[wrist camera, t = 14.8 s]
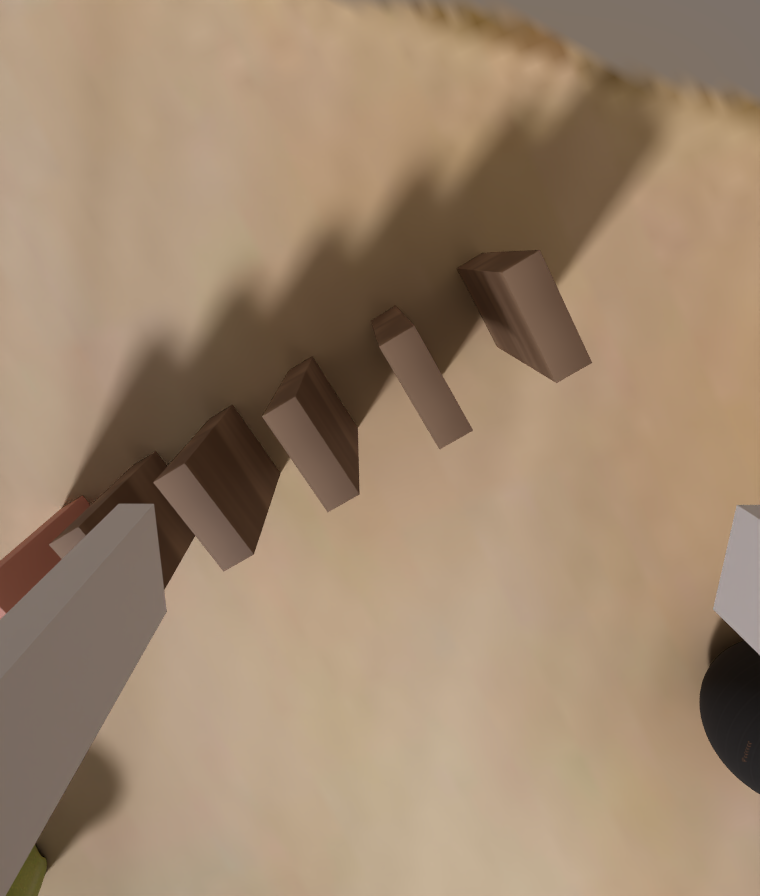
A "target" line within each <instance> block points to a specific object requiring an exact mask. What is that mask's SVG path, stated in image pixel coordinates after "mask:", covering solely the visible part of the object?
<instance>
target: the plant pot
mask: <svg viewBox="0 0 760 896" xmlns="http://www.w3.org/2000/svg"><path fill="white" fill-rule="evenodd" d="M46 869H47V862H46V858H45V857H42V856H41V855H40V854H39V852H38V850H37V848H36V845H34V847H33V848H32V850H31V852H30V854H29V855H28V857H27V859H26V861H25V862H24V864H23V866H22V868H21V870H20V871H19V873H18V875H17V877H16V878H15V880H14V882H13V884H12V885H11V887H10V889H9V891H8V892H7V894H6V896H38V893H39V890H40V888H41V885H42V882H43V879H44V876H45V873H46Z"/></svg>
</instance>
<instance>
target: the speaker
mask: <svg viewBox="0 0 760 896" xmlns="http://www.w3.org/2000/svg"><path fill="white" fill-rule="evenodd" d="M700 713H701V719H702V723H703V726H704V729H705V732H706V735H707V737H708V739H709V741H710V743H711V745H712V747H713V749H714V750H715V752H716V753H717V755H718V756H719V758H720V759H721V760H722V762H723V763H724V764H725V765H726V767H727V768H728V769H729V770H730V771H731V772H732V773H733V774H734V775H735V776H736V777H737V778H738V779H739V780H741V781H742V782H743V783H744V784H746V785H747V786H748V787H750V788H751V789H752V790H754V791H755V792H757V793H759V794H760V655H759V654H758V653H757V652H756V651H755V650H754V649H753V648H752V647H751V646H750V645H749V644H748V643H747V642H746V641H742V642H740V643H737V644H735V645H733V646H731V647H730V648H728V649H727V650H725V651H724V652H723V653H721V654H720V655H719V656H718V657H717V658H716V659H715V660H714V661H713V663H712V664H711V665H710V667H709V669H708V670H707V672H706V674H705V676H704V679H703V682H702V686H701V691H700Z"/></svg>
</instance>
